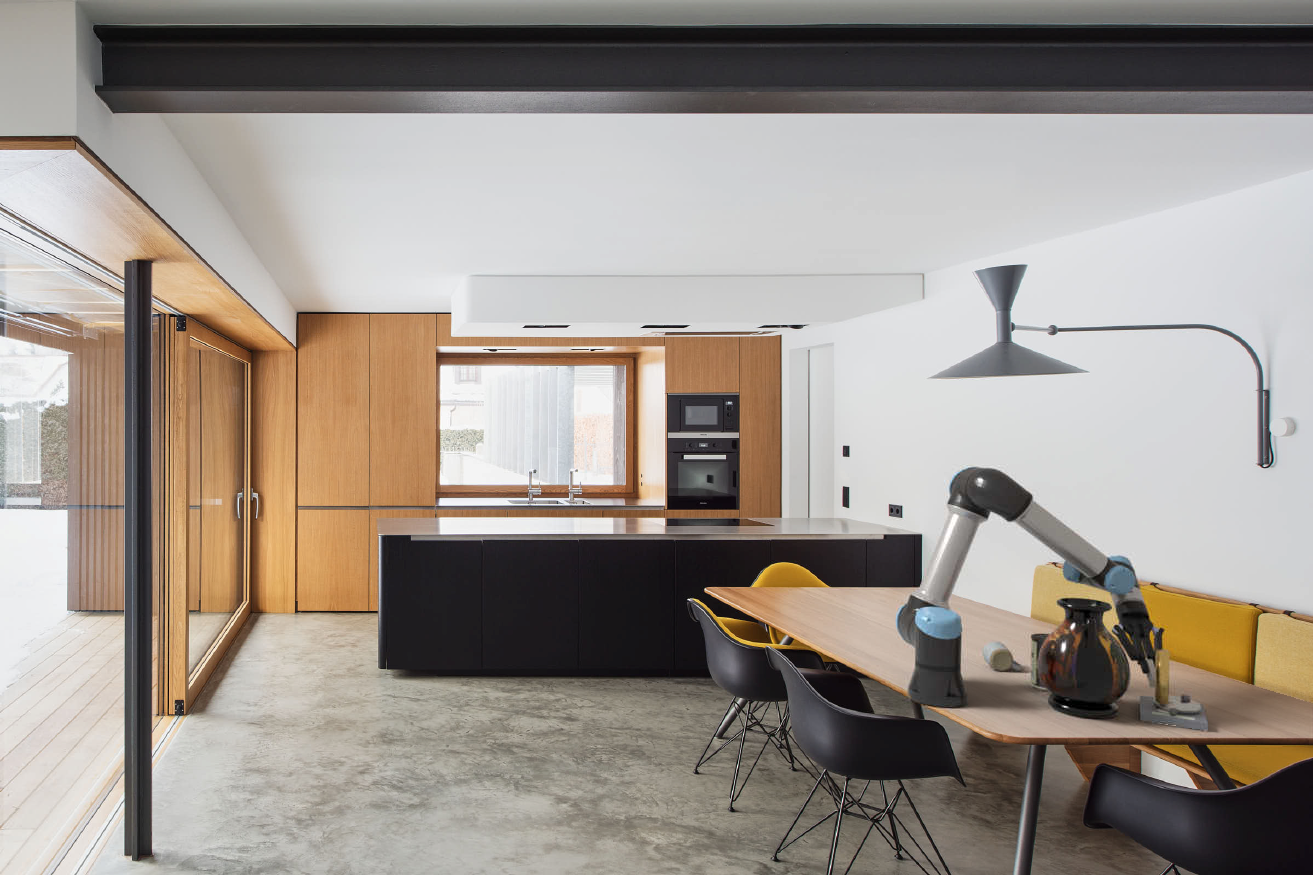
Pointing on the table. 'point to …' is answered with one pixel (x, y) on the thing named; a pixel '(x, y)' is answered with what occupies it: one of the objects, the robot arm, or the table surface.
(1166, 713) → the grey crank mechanism
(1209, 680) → the table surface
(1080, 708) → the brown glazed vase
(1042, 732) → the table surface
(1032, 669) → the coffee can
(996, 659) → the ceramic mug
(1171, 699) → the lever
